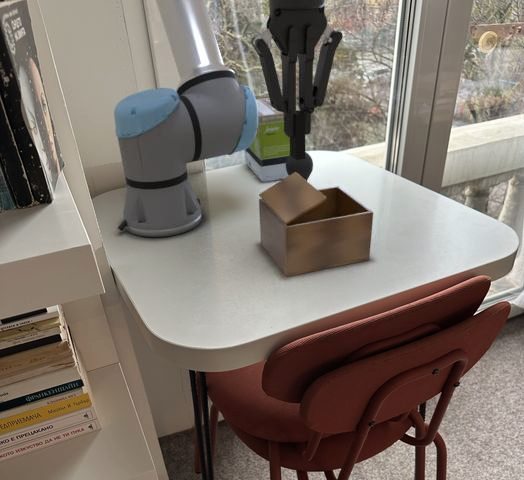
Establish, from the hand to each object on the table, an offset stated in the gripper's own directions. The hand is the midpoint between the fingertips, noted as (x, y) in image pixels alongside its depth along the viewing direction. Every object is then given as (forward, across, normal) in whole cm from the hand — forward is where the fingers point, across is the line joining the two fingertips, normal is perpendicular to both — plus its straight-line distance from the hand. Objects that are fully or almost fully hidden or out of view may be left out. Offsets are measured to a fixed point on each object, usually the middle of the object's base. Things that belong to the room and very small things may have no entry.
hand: (297, 156), depth 85 cm
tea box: (+17, +11, +44) cm, 48 cm away
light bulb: (+17, +10, +24) cm, 31 cm away
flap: (+6, -1, 0) cm, 6 cm away
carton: (+17, +3, 0) cm, 17 cm away
